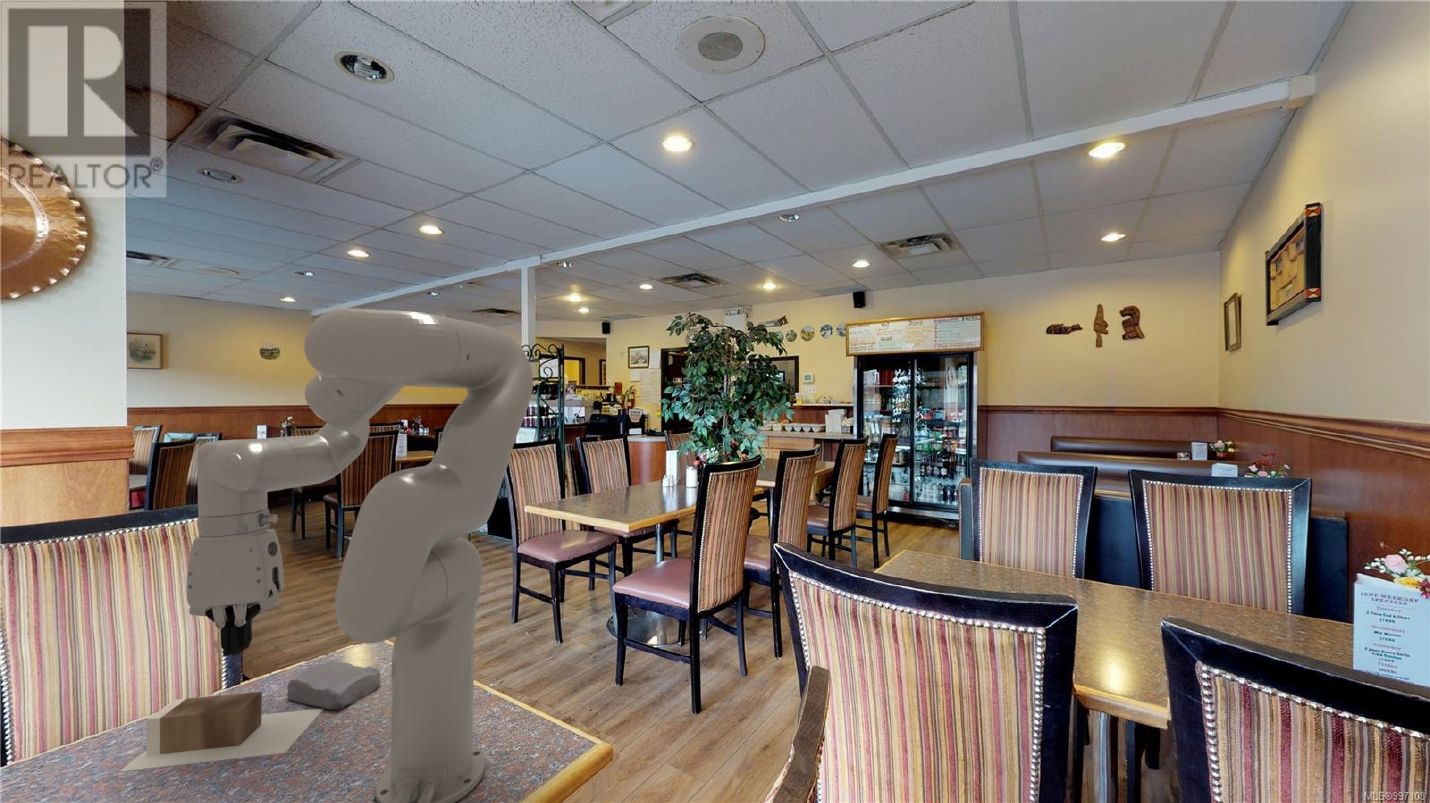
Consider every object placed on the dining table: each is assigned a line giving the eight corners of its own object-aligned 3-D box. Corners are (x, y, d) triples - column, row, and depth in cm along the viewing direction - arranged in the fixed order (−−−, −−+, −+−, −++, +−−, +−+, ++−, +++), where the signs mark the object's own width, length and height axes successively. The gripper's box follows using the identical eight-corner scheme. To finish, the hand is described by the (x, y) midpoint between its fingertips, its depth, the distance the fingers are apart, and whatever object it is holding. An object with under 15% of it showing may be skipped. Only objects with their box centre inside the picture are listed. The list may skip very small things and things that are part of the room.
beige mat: (284, 755, 75) (284, 752, 75) (119, 774, 71) (119, 771, 71) (324, 710, 86) (324, 708, 86) (182, 724, 81) (182, 722, 81)
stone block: (335, 685, 96) (277, 700, 87) (342, 656, 97) (286, 668, 88) (387, 698, 93) (332, 716, 83) (393, 668, 94) (340, 682, 84)
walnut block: (240, 710, 76) (146, 719, 74) (239, 745, 76) (146, 755, 74) (261, 691, 81) (174, 699, 79) (261, 724, 81) (174, 733, 79)
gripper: (306, 516, 83) (309, 634, 83) (192, 523, 80) (194, 646, 80) (278, 526, 76) (281, 656, 76) (151, 534, 73) (154, 670, 73)
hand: (236, 651), depth 78 cm, fingers closed
